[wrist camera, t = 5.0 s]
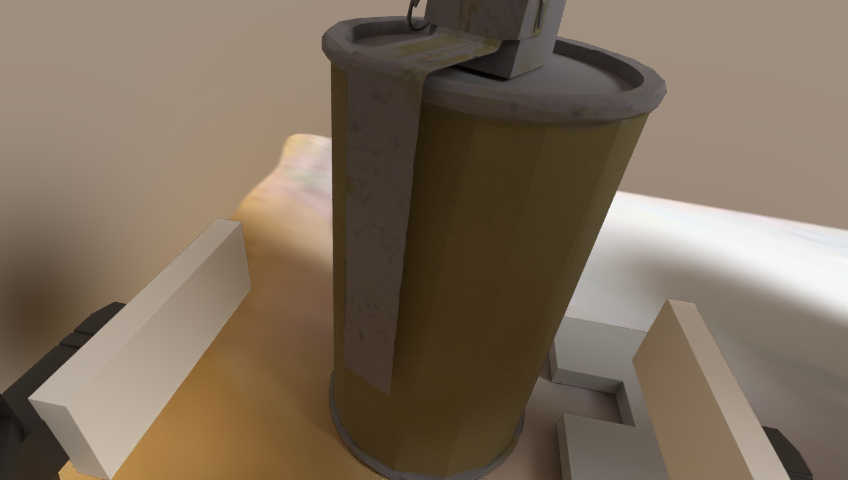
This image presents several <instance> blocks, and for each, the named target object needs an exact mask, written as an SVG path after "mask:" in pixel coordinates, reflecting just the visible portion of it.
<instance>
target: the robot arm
mask: <svg viewBox="0 0 848 480" xmlns="http://www.w3.org/2000/svg"><path fill="white" fill-rule="evenodd" d="M251 289H252V287H251V281H250V274H249V268H248V261H247V255H246V248H245V242H244V236H243V229H242V223H241V222H238V221H232V220H227V219H221V218H217V219H216V220H215V221H214V222H213V223H212V224H211V225H210V226H209V227H208V228H207V229H206V230H205V231H204V232H203V233H202V234H201V235H200V236H198V237H197V239H195V240H194V241H193V242H192V243H191V244H190V245H189V246H188V247H187V248H186V249H185V250H184V251H183V252H182V253H181V254H179V255H178V257H176V258H175V259H174V260H173V261H172V262H171V263H170V264H169V265H168V266H167V267H166V268H165V269H164V270H163V271H162V272H161V273H159V274H158V275H157V276H156V277H155V278H154V279H153V280H152V281H151V282H150V283H149V284H148V285H147V286H146V287H145V288H144V289H143V290H142V291H140V292H139V293H138V294H137V295H136V296H135V297H134V298H133V299H132V300H131V301H130V302H129V303H128V304H123V303H118V302H113V303H111V304H109V305H108V306H106V307H104V308H102V309H100V310H98V311H96V312H95V313H93V314H91V315H90V316H89V317H88V318H87V319H86V320H85V321H83V322H82V323H81V324H80V325H79V326H78V327H77V328H76V329H74V332H73V333H70V334H69V335H68V336H67V337H65V338H64V339H63V340H62V341H61V342H60V344H59V346H55V347H54V348H53V349H52V350H51V351H50V352H49V353H47V354H46V355H45V356H44V357H43V358H42V359H41V360H40V361H39V362H37V363H36V364H35V365H34V366H33V367H32V368H31V369H29V370H28V371H27V372H26V373H25V374H24V375H23V376H22V377H21V378H19V379H18V380H17V381H16V382H15V383H14V384H13V385H11V386H10V387H9V388H8V389H7V390H6V391H5V392H4V393H3V394H0V480H60V477H59V473H58V472H59V471H60V470H61V468H62V467H63V466H64V465H65V464H66V462H67V461H68V460H70V462H71V463H72V464H73V466H74V467H75V469H76V470H77V472H78V473H80V474H85V475H89V476H94V477H98V478H103V479H108V480H111V479H112V477H113V476H114V475H115V473H116V472H117V471H118V469H119V468H120V467H121V465H122V464H123V463H124V461H125V460H126V458H127V457H128V456H129V454H130V453H131V452H132V450H133V449H134V448H135V446H136V445H137V443H138V442H139V441H140V439H141V438H142V437H143V435H144V434H145V433H146V431H147V430H148V429H149V427H150V426H151V424H152V423H153V422H154V420H155V419H156V418H157V416H158V415H159V414H160V412H161V411H162V410H163V408H164V407H165V405H166V404H167V403H168V401H169V400H170V399H171V397H172V396H173V395H174V393H175V392H176V391H177V389H178V388H179V386H180V385H181V384H182V382H183V381H184V380H185V378H186V377H187V376H188V374H189V373H190V371H191V370H192V369H193V367H194V366H195V365H196V363H197V362H198V361H199V359H200V358H201V357H202V355H203V354H204V352H205V351H206V350H207V348H208V347H209V346H210V344H211V343H212V342H213V340H214V339H215V338H216V336H217V335H218V333H219V332H220V331H221V329H222V328H223V327H224V325H225V324H226V323H227V321H228V320H229V318H230V317H231V316H232V314H233V313H234V312H235V310H236V309H237V308H238V306H239V305H240V304H241V302H242V301H243V299H244V298H245V297H246V295H247V294H248V293H249V291H250V290H251ZM632 362H633V365H634V368H635V371H636V375H637V378H638V381H639V384H640V387H641V390H642V393H643V397H644V400H645V403H646V406H647V409H648V412H649V415H650V419H651V422H652V425H653V428H654V431H655V434H656V437H657V440H658V444H659V447H660V450H661V453H662V456H663V459H664V462H665V466H666V469H667V472H668V475H669V478H670V480H813V478H812V476H813V475H812V473H811V472H810V470H809V468H808V467H807V465H806V463H805V461H804V460H803V458H802V456H801V455H800V453H799V451H798V450H797V449H796V448H795V447H794V446H793V445H792V444H791V443H790V442H789V441H788V440H787V439H786V438H785V437H784V436H783V434H782V433H781V432H780V431H779V430H778V429H774V428H769V427H764V426H761V425H760V423H759V421H758V419H757V417H756V416H755V414H754V412H753V410H752V408H751V406H750V405H749V403H748V401H747V399H746V397H745V395H744V394H743V392H742V390H741V388H740V386H739V384H738V383H737V381H736V379H735V377H734V375H733V373H732V372H731V370H730V368H729V366H728V364H727V362H726V361H725V359H724V357H723V355H722V353H721V351H720V350H719V348H718V346H717V344H716V342H715V340H714V339H713V337H712V335H711V333H710V331H709V329H708V328H707V326H706V324H705V322H704V320H703V318H702V317H701V315H700V313H699V311H698V309H697V307H696V306H695V304H694V303H690V302H685V301H679V300H674V299H667V301H666V302H665V304H664V306H663V307H662V309H661V311H660V313H659V314H658V316H657V318H656V319H655V321H654V323H653V325H652V326H651V328H650V330H649V331H648V333H647V335H646V337H645V338H644V340H643V342H642V343H641V345H640V347H639V348H638V350H637V352H636V354H635V355H634V357H633V359H632Z"/></svg>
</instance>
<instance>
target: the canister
mask: <svg viewBox="0 0 848 480" xmlns="http://www.w3.org/2000/svg"><path fill="white" fill-rule="evenodd" d="M419 1H420V0H411V2H410V6H409V10H408V14H407V16H389V17H371V18H356V19H351V20H346V21H341V22H338V23H337V24H335V25H334V26H332V27H331V28H330V29H328V30H327V31H326V32H325V33H324V35H323V36H322V50H323V52H324V53H325V55H326V56H327V58H328V59H329V60H330V61H331V112H332V207H333V301H334V370H333V373H332V375H331V381H330V389H329V400H330V408H331V412H332V417H333V421H334V423H335V426H336V428H337V430H338V432H339V434H340V436H341V438H342V440H343V441H344V442H345V443H346V445H347V446H348V447H349V448H350V450H351V451H352V452H353V453H354V455H355V456H356V457H357V458H358V459H359V460H360V461H362V462H363V463H365V464H366V465H368V466H369V467H370V468H372V469H373V470H375V471H376V472H378V473H380V474H381V475H383V476H385V477H387V478H389V479H392V480H478V479H480V478H481V477H483V476H484V475H486V474H487V473H489V472H490V471H492V470H493V469H495V468H496V467H498V466H499V465H500V464H501V463H502V462H503V461H504V460H505V459H506V458H507V457H508V456H509V455H510V453H511V451H512V450H513V448H514V447H515V445H516V443H517V441H518V438H519V436H520V434H521V432H522V428H523V422H524V414H525V407H526V404H527V402H528V399H529V397H530V395H531V392H532V390H533V388H534V385H535V383H536V381H537V378H538V376H539V373H540V371H541V369H542V366H543V364H544V362H545V359H546V357H547V354H548V352H549V350H550V347H551V345H552V343H553V340H554V338H555V336H556V333H557V331H558V328H559V326H560V324H561V321H562V319H563V317H564V314H565V312H566V310H567V307H568V305H569V302H570V300H571V298H572V295H573V293H574V291H575V288H576V286H577V283H578V281H579V279H580V276H581V274H582V272H583V269H584V267H585V265H586V262H587V260H588V257H589V255H590V253H591V250H592V248H593V246H594V243H595V241H596V238H597V236H598V234H599V231H600V229H601V227H602V224H603V222H604V220H605V217H606V215H607V212H608V210H609V208H610V205H611V203H612V201H613V198H614V196H615V194H616V191H617V189H618V186H619V184H620V181H621V179H622V177H623V174H624V172H625V170H626V167H627V165H628V163H629V160H630V158H631V156H632V153H633V151H634V148H635V146H636V144H637V141H638V139H639V137H640V134H641V132H642V129H643V127H644V125H645V122H646V120H647V118H648V115H649V113H651V112H652V111H653V110H654V109H656V108H657V107H658V106H659V104H660V103H661V101H662V100H663V98H664V96H665V94H666V93H667V90H666V84H665V81H664V80H663V79H662V78H661V77H660V76H659V75H658V74H657V73H656V72H655V71H654V70H653V69H651V68H649V67H647V66H645V65H643V64H641V63H640V62H638V61H636V60H634V59H632V58H629V57H626V56H623V55H620V54H617V53H614V52H611V51H608V50H605V49H602V48H598V47H596V46H593V45H589V44H587V43H583V42H579V41H575V40H571V39H566V38H562V37H558V36H557V33H558V30H559V26H560V22H561V18H562V15H563V11H564V7H565V3H566V0H428V1H427V5H426V11H425V17H411V15H412V8H413V6H414V7H417V5H418V3H419Z"/></svg>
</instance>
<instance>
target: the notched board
mask: <svg viewBox="0 0 848 480" xmlns="http://www.w3.org/2000/svg"><path fill="white" fill-rule="evenodd" d="M646 335H647V333H646V332H644V331H639V330H634V329H628V328H623V327H618V326H613V325H607V324H602V323H597V322H592V321H586V320H581V319H576V318H571V317H565V316H564V317H563V319H562V321H561V324H560V326H559V328H558V331H557V333H556V336H555V338H554V340H553V343H552V345H551V347H550V350H549V360H550V370H551V379H552V382H555V383H560V384H565V385H570V386H575V387H580V388H585V389H590V390H595V391H600V392H605V393H610V394H615V396H616V400H617V404H618V408H619V412H620V416H621V420H622V424H618V423H613V422H608V421H603V420H598V419H594V418H589V417H584V416H579V415H574V414H569V413H564V412H563V414H562V416H561V418H560V420H559V422H558V424H557V434H558V444H559V453H560V462H561V471H562V480H670V478H669V475H668V472H667V469H666V466H665V462H664V459H663V456H662V453H661V450H660V447H659V444H658V440H657V437H656V434H655V431H654V428H653V425H652V422H651V419H650V415H649V412H648V409H647V406H646V403H645V400H644V397H643V393H642V390H641V387H640V384H639V381H638V378H637V375H636V371H635V368H634V365H633V362H632V359H633V357H634V355H635V354H636V352H637V350H638V348H639V347H640V345H641V343H642V342H643V340H644V338H645V337H646Z"/></svg>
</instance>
